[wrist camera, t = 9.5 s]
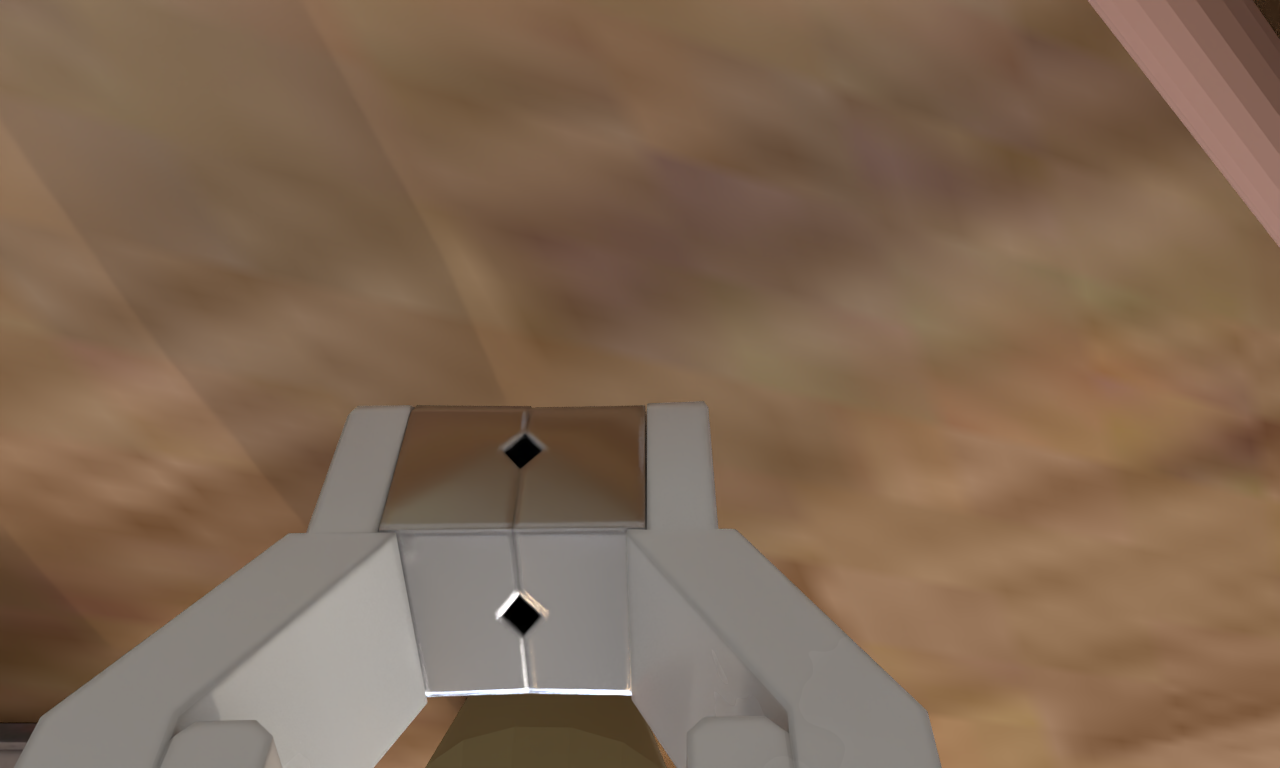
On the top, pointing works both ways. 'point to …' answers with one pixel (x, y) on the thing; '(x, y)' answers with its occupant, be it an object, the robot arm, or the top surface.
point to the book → (13, 741)
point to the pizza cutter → (1214, 84)
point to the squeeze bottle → (548, 733)
